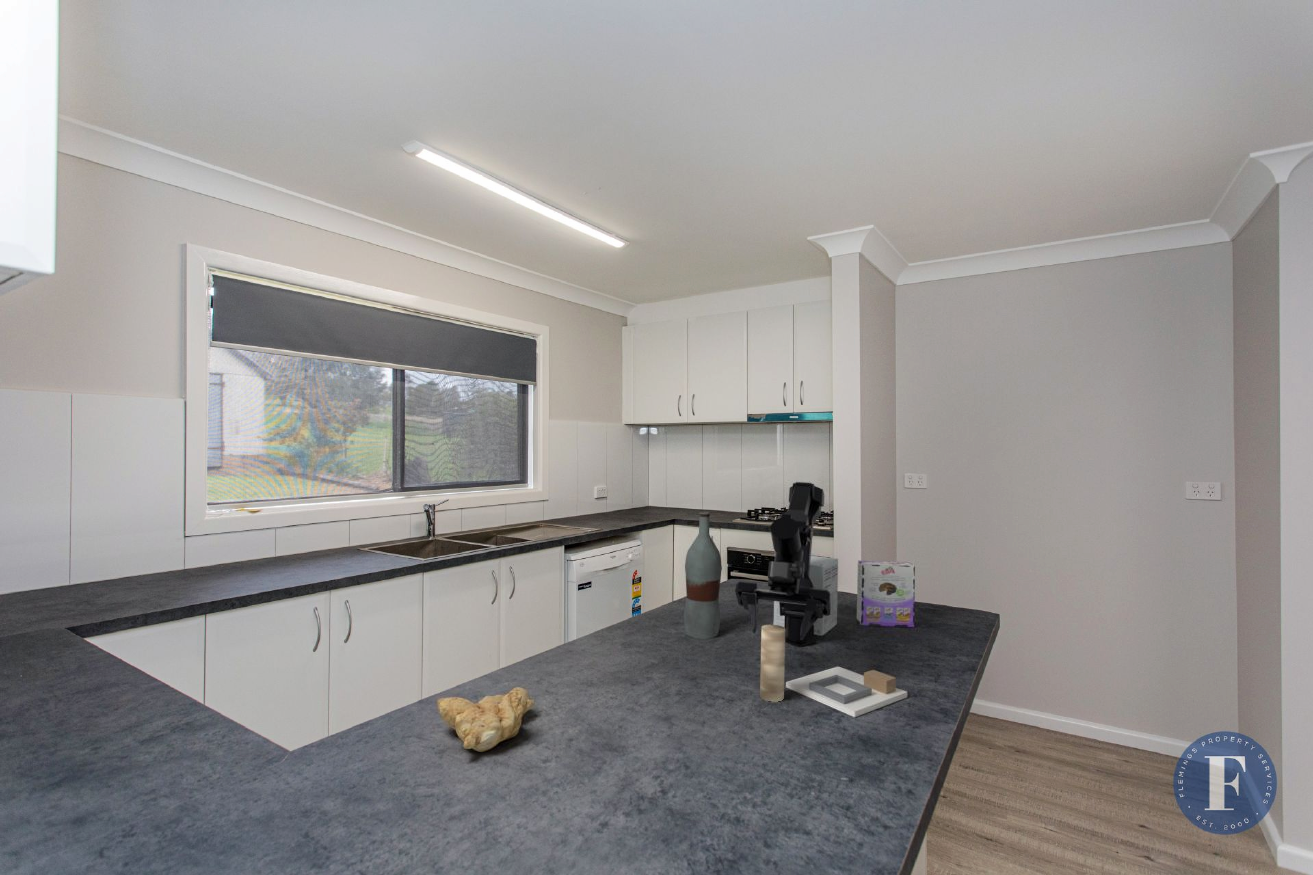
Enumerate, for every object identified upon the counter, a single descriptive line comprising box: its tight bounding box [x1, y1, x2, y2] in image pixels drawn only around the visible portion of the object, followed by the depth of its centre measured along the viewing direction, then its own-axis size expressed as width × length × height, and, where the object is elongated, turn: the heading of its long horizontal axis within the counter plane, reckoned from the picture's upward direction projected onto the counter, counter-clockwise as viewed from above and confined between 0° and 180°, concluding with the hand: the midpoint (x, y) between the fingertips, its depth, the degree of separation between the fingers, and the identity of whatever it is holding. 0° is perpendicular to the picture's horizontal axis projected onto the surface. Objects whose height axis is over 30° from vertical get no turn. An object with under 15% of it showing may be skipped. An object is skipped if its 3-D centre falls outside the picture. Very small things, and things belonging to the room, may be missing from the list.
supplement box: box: [772, 555, 839, 636], centre depth 166 cm, size 13×13×18 cm
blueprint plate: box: [785, 666, 908, 718], centre depth 122 cm, size 16×16×4 cm
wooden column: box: [759, 624, 786, 703], centre depth 119 cm, size 4×4×13 cm
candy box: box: [856, 560, 916, 628], centre depth 170 cm, size 14×6×16 cm, turn 84°
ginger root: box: [436, 686, 535, 753], centre depth 101 cm, size 16×16×8 cm
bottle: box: [683, 511, 723, 640], centre depth 157 cm, size 9×9×30 cm
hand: (777, 635), depth 123 cm, fingers open, 9 cm apart
